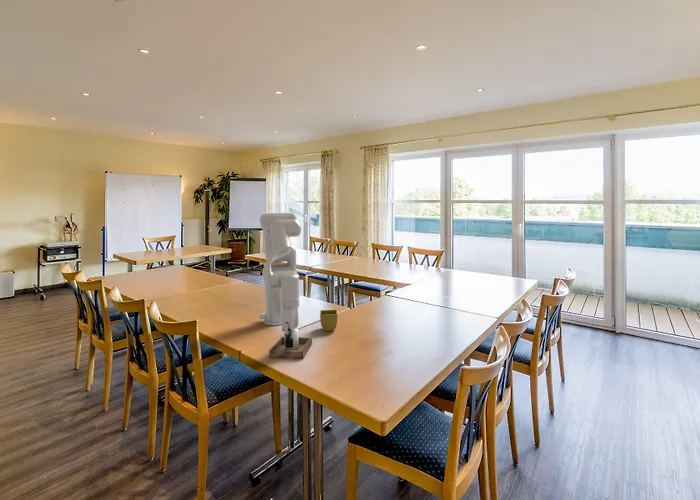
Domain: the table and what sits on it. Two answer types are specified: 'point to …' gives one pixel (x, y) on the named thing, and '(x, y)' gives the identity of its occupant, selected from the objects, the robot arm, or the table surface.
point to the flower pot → (328, 319)
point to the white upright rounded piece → (294, 339)
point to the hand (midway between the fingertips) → (291, 343)
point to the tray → (299, 353)
